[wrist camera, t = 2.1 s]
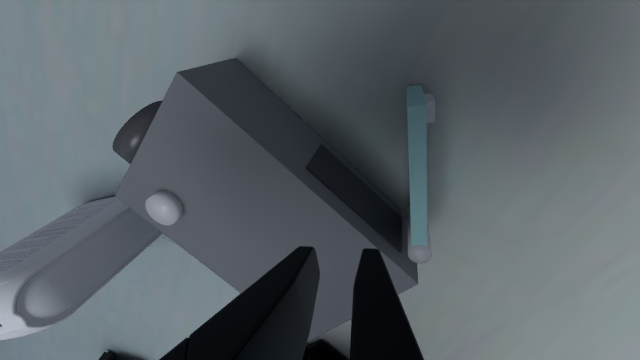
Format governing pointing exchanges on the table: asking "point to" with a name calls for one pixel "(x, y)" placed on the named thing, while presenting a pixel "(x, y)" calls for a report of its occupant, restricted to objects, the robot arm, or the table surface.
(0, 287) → the photo printer
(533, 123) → the table surface
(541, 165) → the table surface
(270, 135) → the box
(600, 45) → the table surface
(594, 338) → the table surface
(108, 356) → the figurine
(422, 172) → the side door
